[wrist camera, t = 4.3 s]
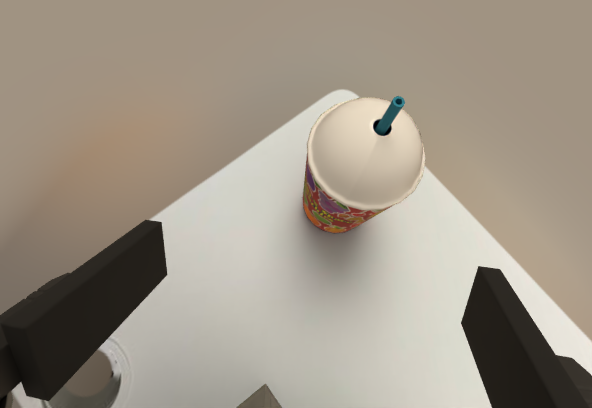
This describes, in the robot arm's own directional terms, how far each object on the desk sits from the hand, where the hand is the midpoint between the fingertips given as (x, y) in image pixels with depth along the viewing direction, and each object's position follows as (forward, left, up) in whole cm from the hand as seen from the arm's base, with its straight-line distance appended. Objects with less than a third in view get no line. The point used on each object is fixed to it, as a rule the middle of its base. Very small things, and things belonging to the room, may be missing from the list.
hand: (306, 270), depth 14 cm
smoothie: (+1, +10, -21) cm, 23 cm away
